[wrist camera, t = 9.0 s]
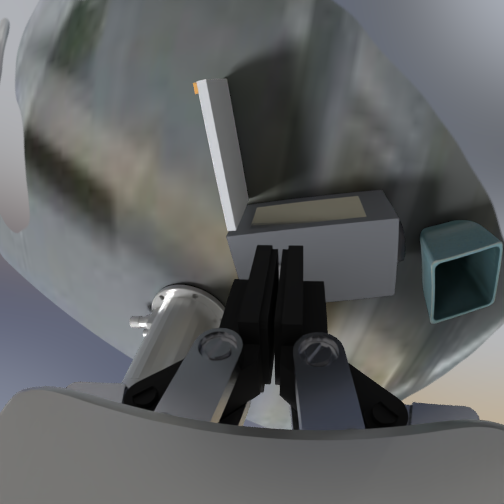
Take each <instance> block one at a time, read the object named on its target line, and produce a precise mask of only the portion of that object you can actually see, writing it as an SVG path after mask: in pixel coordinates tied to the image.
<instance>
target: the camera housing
mask: <svg viewBox="0 0 504 504" xmlns="http://www.w3.org/2000/svg"><path fill="white" fill-rule="evenodd" d="M226 238H227V241H228V244H229V248H230V251H231V254H232V258H233V261H234V265H235V268H236V271H237V274H238V278H239V279H249V275H250V271H251V267H252V263H253V259H254V256H255V252H256V248H257V245H272V246H273V249H278V257H279V277H280V268H281V259H282V250H283V249H288V246H289V245H300V246H303V281H324V286H325V299H326V302H334V301H345V300H355V299H365V298H374V297H383V296H392V295H394V294H395V283H396V271H397V261H403V260H404V257H405V236H404V231H403V227H402V224H401V222H400V221H399V218H398V216H397V214H396V212H395V211H394V209H393V207H392V206H391V204H390V202H389V201H388V199H387V197H386V196H385V194H384V192H383V191H382V190H373V191H362V192H352V193H342V194H332V195H323V196H314V197H306V198H297V199H289V200H281V201H273V202H266V203H258V204H251V205H247V206H246V208H245V210H244V213H243V215H242V218H241V220H240V222H239V225H238V227H237V230H236V231H229V232H228V234H227V236H226Z"/></svg>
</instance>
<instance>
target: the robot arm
mask: <svg viewBox="0 0 504 504" xmlns="http://www.w3.org/2000/svg"><path fill="white" fill-rule="evenodd" d="M130 326H131V327H132V328H146V329H144V331H143V335H144V337H145V338H144V340H143V342H142V344H141V346H140V347H139V349H138V351H137V353H136V355H135V357H134V359H133V361H132V363H131V365H130V367H129V369H128V371H127V373H126V375H125V377H124V379H123V381H122V383H121V384H119V383H91V382H74V383H72V384H70V385H69V386H67V387H66V388H61V387H49V386H44V387H32V388H27V389H23V390H21V391H19V392H18V393H16V394H15V395H14V396H13V397H12V398H11V399H10V400H9V401H8V403H7V404H6V405H5V407H4V408H3V410H2V411H1V412H0V504H504V425H502V424H499V423H495V422H491V421H485V420H479V416H478V415H477V413H476V412H475V411H474V410H473V409H471V408H470V407H466V406H452V405H437V404H425V403H415V402H413V403H412V405H406V404H404V403H403V402H402V401H401V400H399V399H398V398H397V397H395V396H394V395H393V394H391V393H390V392H388V391H387V390H386V389H384V388H383V387H381V386H380V385H378V384H377V383H376V382H374V381H373V380H371V379H370V378H369V377H367V376H366V375H364V374H363V373H362V372H360V371H359V370H358V369H356V368H355V367H353V366H352V365H351V364H349V363H348V360H347V357H346V353H345V350H344V347H343V345H342V343H341V342H340V341H339V340H338V339H337V338H336V337H334V336H332V335H331V334H328V331H327V314H326V299H325V286H324V281H303V246H300V245H289V246H288V249H283V250H282V259H281V268H280V277H279V257H278V249H273V246H272V245H257V248H256V252H255V256H254V259H253V263H252V267H251V271H250V275H249V279H235V280H234V282H233V285H232V288H231V291H230V294H229V297H228V301H227V304H226V307H224V306H223V305H222V304H221V302H219V301H218V300H217V299H216V298H215V297H214V296H212V295H210V294H209V293H207V292H205V291H203V290H201V289H199V288H196V287H193V286H187V285H171V286H167V287H165V288H163V289H161V290H160V291H159V292H158V293H157V294H156V296H155V297H154V299H153V302H152V314H149V315H147V316H146V317H142V316H132V317H131V318H130ZM274 353H275V385H280V396H281V397H282V398H283V399H284V400H286V401H287V402H288V403H289V404H290V416H291V427H292V430H286V429H269V428H256V427H245V426H243V424H244V421H245V418H246V416H247V413H248V410H249V408H250V404H251V400H252V399H253V398H255V397H256V396H258V395H259V394H260V392H264V386H265V384H271V377H272V369H273V361H274Z"/></svg>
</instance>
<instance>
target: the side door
mask: <svg viewBox="0 0 504 504" xmlns="http://www.w3.org/2000/svg"><path fill="white" fill-rule="evenodd" d="M196 82H197V83H193V85H194V90H195V94H198V93H199V98H200V103H201V108H202V113H203V118H204V122H205V127H206V132H207V137H208V142H209V147H210V152H211V156H212V161H213V166H214V171H215V175H216V180H217V185H218V189H219V194H220V199H221V203H222V208H223V212H224V217H225V221H226V226H227V230H228V231H236V230H237V227H238V225H239V222H240V220H241V218H242V215H243V213H244V210H245V208H246V206H247V203H248V201H249V198H248V193H247V187H246V181H245V176H244V170H243V165H242V159H241V153H240V148H239V142H238V137H237V131H236V126H235V120H234V115H233V109H232V104H231V98H230V93H229V87H228V82H227V79H205V80H200V81H196Z"/></svg>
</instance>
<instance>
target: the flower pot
mask: <svg viewBox="0 0 504 504" xmlns="http://www.w3.org/2000/svg"><path fill="white" fill-rule="evenodd" d="M420 244H421V257H422V284H423V292H424V296H425V301H426V305H427V309H428V314H429V318H430V322H431V323H432V324H434V323H438V322H441V321H445V320H448V319H451V318H454V317H457V316H460V315H464V314H466V313H469V312H472V311H476V310H478V309H481V308H485V307H488V306H490V305H492V304H493V303H494V301H495V297H496V291H497V286H498V280H499V273H500V267H501V260H502V253H503V243H502V242H501V241H500V240H499V239H497V238H496V237H495V236H494V235H493V234H491V233H490V232H489V231H488V230H486V229H485V228H484V227H482V226H481V225H479V224H478V223H476V222H473V221H468V220H454V221H450V222H447V223H443V224H439V225H436V226H432V227H427V228H424V229H423V230H422V231H421V234H420Z"/></svg>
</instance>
